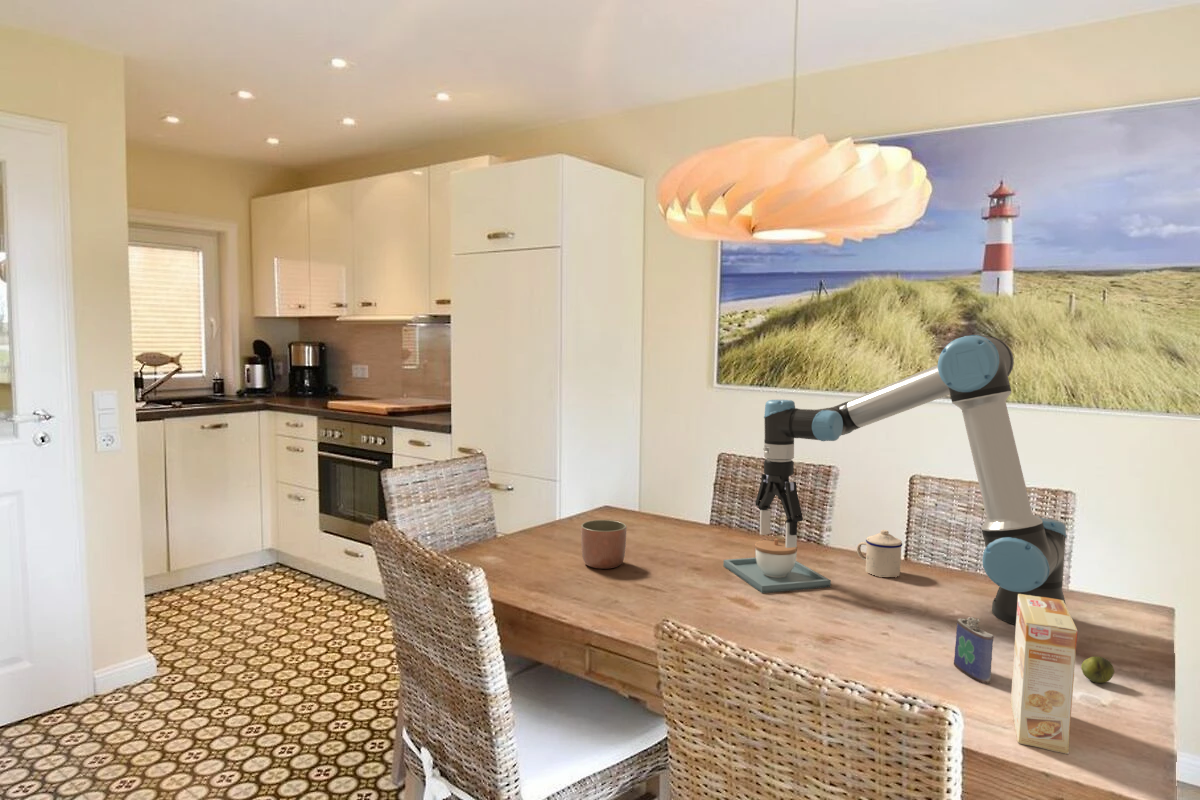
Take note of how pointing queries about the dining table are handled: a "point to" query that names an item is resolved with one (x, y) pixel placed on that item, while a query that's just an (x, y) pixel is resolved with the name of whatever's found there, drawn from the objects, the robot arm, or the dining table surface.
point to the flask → (973, 650)
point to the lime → (1097, 669)
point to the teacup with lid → (882, 554)
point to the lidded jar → (775, 557)
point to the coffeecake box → (1043, 672)
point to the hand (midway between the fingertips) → (777, 540)
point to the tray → (794, 580)
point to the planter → (603, 543)
